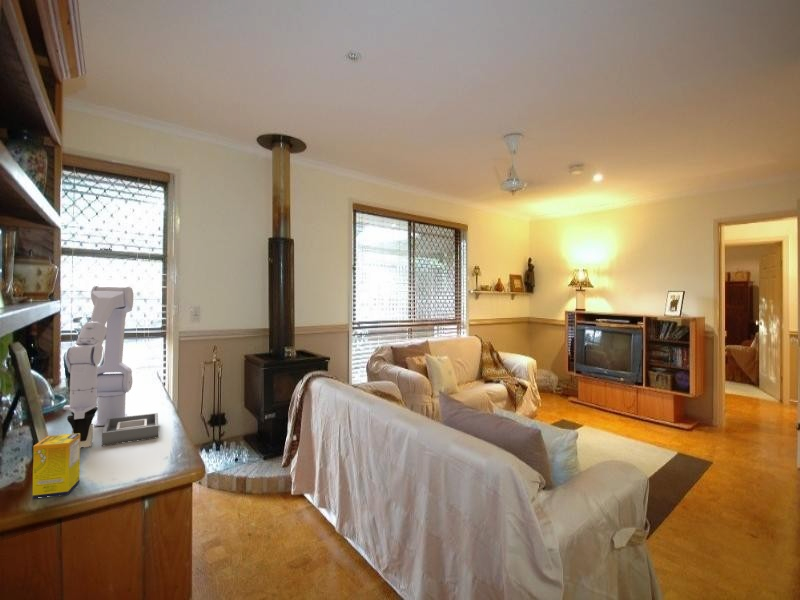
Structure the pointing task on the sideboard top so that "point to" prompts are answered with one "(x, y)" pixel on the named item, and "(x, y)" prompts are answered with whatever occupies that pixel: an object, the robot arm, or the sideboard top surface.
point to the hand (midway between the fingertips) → (82, 438)
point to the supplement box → (56, 465)
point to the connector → (89, 438)
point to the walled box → (130, 428)
